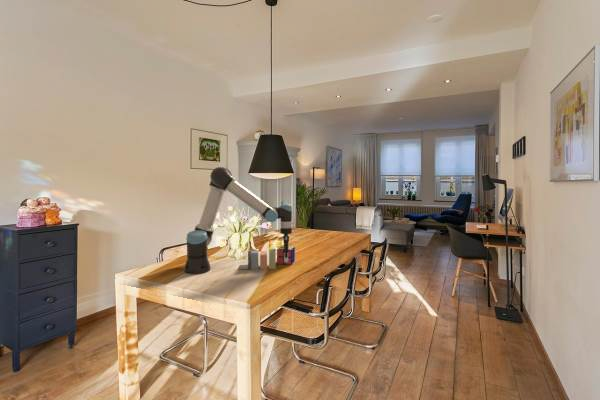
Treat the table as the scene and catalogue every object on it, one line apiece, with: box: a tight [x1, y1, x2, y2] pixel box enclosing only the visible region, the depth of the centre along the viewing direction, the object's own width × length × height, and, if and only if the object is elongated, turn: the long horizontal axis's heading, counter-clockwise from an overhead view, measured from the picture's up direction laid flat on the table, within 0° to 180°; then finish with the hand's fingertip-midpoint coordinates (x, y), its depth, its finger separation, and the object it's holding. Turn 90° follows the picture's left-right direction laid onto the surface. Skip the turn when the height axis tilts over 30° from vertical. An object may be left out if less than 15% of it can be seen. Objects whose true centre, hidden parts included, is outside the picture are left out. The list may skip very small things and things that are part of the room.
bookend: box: [237, 248, 252, 271], centre depth 201 cm, size 7×9×11 cm
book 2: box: [259, 251, 268, 270], centre depth 202 cm, size 4×8×9 cm, turn 4°
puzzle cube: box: [276, 245, 296, 266], centre depth 214 cm, size 10×10×10 cm
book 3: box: [268, 248, 277, 270], centre depth 203 cm, size 4×7×11 cm, turn 4°
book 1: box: [250, 250, 259, 270], centre depth 202 cm, size 4×7×10 cm, turn 4°
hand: (285, 259), depth 214 cm, fingers open, 12 cm apart
